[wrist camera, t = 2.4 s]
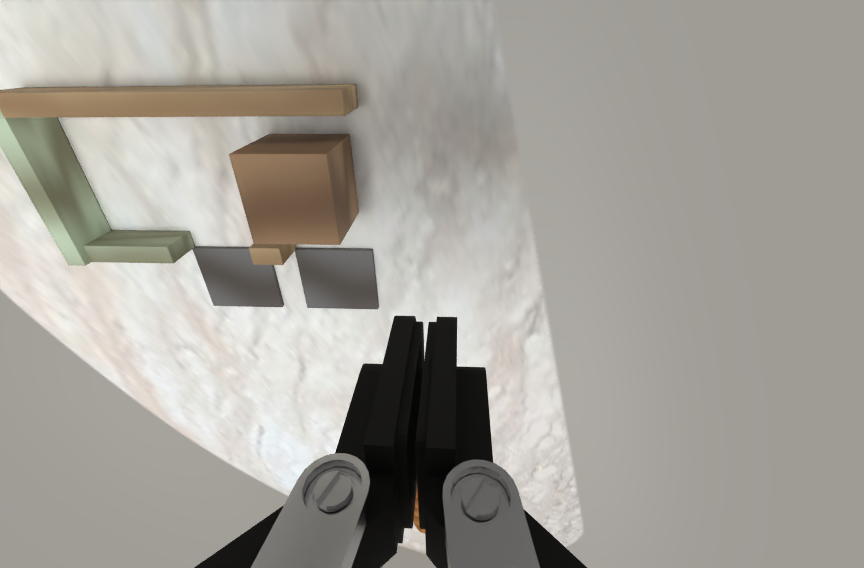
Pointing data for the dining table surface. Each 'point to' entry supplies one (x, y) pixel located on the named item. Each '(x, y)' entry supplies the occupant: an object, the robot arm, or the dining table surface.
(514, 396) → the dining table surface
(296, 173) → the block
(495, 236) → the dining table surface
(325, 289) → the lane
